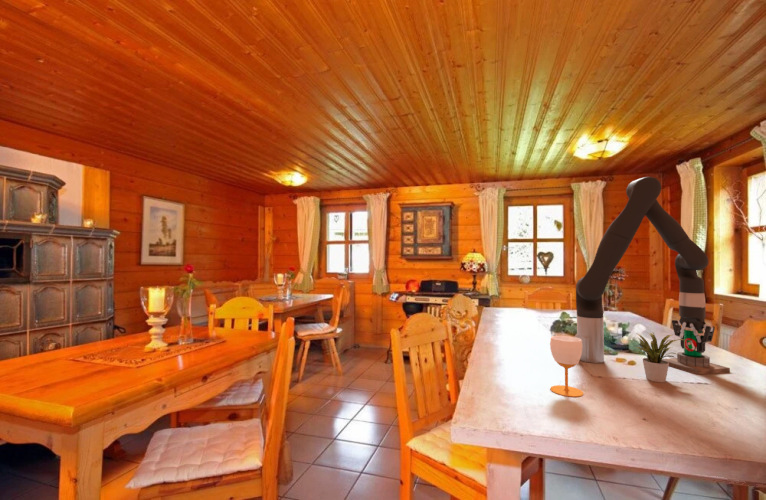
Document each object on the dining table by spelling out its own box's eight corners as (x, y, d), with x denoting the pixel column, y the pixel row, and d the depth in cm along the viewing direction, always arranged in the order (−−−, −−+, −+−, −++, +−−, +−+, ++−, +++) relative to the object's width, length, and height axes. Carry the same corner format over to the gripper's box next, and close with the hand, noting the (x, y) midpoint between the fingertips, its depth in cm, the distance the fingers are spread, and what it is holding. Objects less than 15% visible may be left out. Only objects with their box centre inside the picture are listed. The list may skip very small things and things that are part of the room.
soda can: (695, 357, 135) (694, 326, 135) (705, 361, 130) (705, 328, 130) (680, 357, 136) (680, 325, 136) (690, 361, 131) (690, 328, 131)
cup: (580, 388, 112) (579, 336, 112) (586, 398, 103) (585, 342, 103) (548, 384, 115) (548, 334, 115) (552, 394, 106) (551, 340, 106)
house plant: (690, 379, 119) (689, 330, 120) (687, 391, 109) (686, 337, 110) (637, 370, 129) (637, 325, 129) (631, 380, 119) (630, 330, 119)
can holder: (698, 374, 125) (697, 361, 125) (659, 363, 138) (659, 351, 138) (729, 372, 127) (729, 359, 127) (689, 361, 141) (689, 349, 141)
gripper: (665, 302, 140) (665, 346, 139) (704, 307, 126) (705, 356, 125) (680, 302, 141) (681, 345, 141) (721, 307, 127) (722, 355, 127)
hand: (692, 350), depth 133 cm, fingers closed on soda can, 5 cm apart
